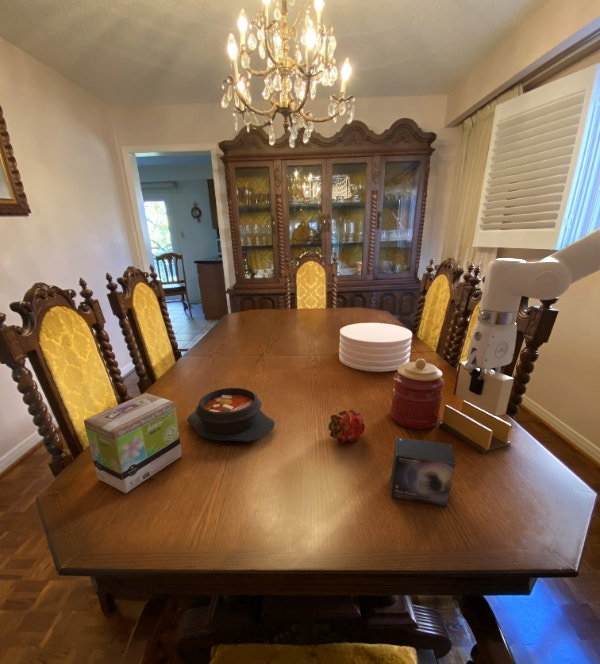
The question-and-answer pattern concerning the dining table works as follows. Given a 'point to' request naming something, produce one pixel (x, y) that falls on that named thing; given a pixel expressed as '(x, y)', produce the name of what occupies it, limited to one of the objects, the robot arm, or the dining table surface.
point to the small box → (422, 471)
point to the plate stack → (375, 346)
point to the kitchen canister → (417, 395)
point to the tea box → (133, 440)
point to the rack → (477, 428)
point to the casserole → (231, 416)
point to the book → (485, 390)
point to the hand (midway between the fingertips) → (481, 390)
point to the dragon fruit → (346, 426)
